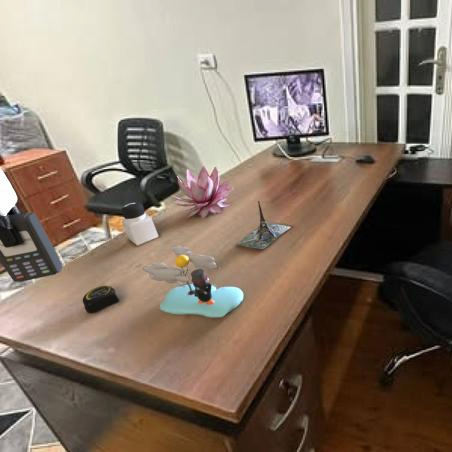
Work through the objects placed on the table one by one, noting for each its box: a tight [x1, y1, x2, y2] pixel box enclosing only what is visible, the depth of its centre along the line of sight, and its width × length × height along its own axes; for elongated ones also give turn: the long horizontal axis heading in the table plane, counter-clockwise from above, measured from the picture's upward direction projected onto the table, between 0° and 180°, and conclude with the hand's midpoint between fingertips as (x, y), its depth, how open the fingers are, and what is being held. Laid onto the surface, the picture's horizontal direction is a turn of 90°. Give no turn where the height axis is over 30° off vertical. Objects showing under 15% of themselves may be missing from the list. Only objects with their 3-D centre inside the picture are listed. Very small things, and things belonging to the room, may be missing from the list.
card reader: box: [0, 211, 63, 283], centre depth 76 cm, size 9×4×15 cm, turn 109°
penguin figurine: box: [142, 245, 244, 319], centre depth 80 cm, size 20×11×15 cm, turn 75°
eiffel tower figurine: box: [236, 199, 292, 250], centre depth 106 cm, size 15×10×13 cm
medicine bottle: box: [120, 202, 159, 247], centre depth 112 cm, size 7×7×12 cm
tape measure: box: [82, 285, 120, 315], centre depth 86 cm, size 7×7×4 cm
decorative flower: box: [170, 165, 235, 220], centre depth 125 cm, size 21×21×15 cm
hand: (18, 239), depth 75 cm, fingers closed on card reader, 4 cm apart
